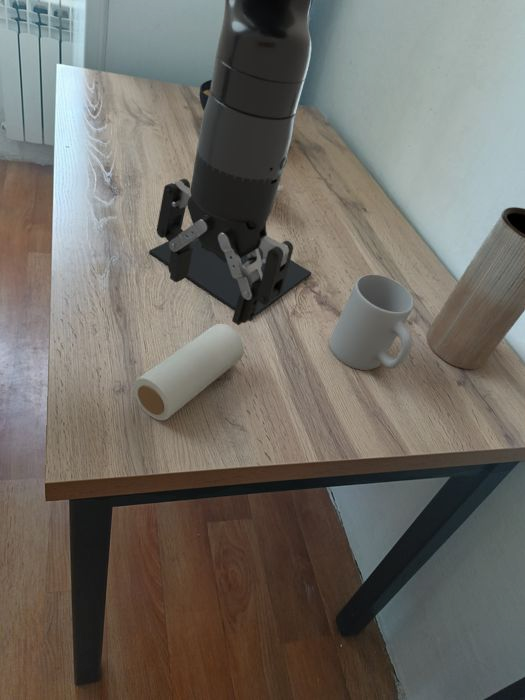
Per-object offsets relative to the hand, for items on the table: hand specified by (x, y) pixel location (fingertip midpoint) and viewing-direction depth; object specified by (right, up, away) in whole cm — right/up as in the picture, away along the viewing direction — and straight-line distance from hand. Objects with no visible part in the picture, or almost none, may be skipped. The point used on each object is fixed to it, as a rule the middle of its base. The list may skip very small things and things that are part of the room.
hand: (209, 299), depth 57 cm
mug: (+20, -7, +22) cm, 31 cm away
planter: (+37, -5, +30) cm, 48 cm away
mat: (+1, +9, +31) cm, 32 cm away
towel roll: (-4, -10, +10) cm, 15 cm away
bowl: (-2, +45, +68) cm, 81 cm away
